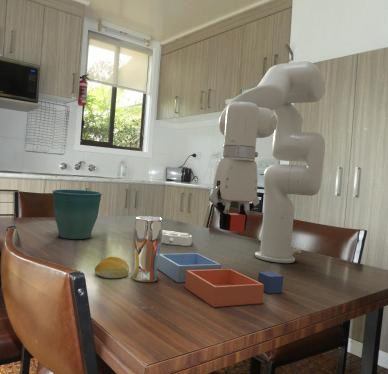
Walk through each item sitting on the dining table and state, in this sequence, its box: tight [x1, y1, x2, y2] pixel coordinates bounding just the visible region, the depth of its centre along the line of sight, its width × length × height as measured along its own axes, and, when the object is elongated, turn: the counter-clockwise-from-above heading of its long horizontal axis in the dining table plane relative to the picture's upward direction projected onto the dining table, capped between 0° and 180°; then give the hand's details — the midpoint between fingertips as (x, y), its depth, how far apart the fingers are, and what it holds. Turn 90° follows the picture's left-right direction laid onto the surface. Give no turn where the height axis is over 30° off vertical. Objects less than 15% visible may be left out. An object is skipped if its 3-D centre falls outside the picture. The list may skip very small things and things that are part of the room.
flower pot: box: [51, 189, 103, 240], centre depth 137 cm, size 18×18×17 cm
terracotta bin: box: [184, 268, 264, 308], centre depth 83 cm, size 12×12×4 cm
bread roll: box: [94, 256, 130, 279], centre depth 93 cm, size 8×9×4 cm
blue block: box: [257, 270, 284, 295], centre depth 88 cm, size 4×4×4 cm
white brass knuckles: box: [161, 229, 193, 247], centre depth 142 cm, size 3×18×15 cm
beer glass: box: [132, 215, 163, 283], centre depth 91 cm, size 7×7×15 cm
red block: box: [227, 212, 245, 233], centre depth 90 cm, size 4×4×4 cm
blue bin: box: [157, 252, 223, 283], centre depth 97 cm, size 12×12×4 cm
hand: (232, 229), depth 90 cm, fingers closed on red block, 4 cm apart
